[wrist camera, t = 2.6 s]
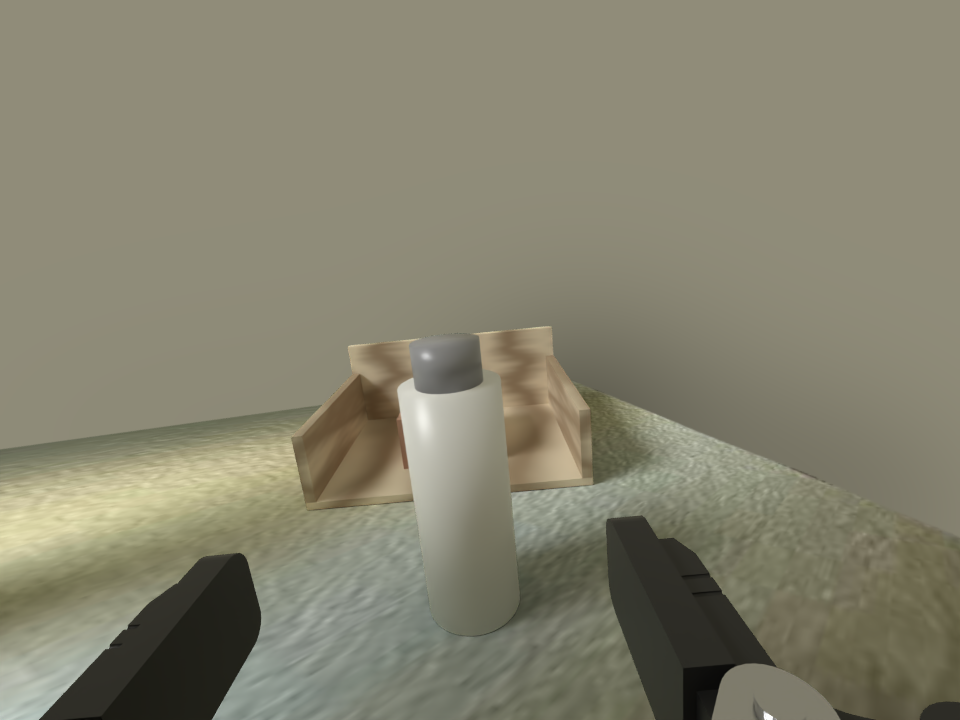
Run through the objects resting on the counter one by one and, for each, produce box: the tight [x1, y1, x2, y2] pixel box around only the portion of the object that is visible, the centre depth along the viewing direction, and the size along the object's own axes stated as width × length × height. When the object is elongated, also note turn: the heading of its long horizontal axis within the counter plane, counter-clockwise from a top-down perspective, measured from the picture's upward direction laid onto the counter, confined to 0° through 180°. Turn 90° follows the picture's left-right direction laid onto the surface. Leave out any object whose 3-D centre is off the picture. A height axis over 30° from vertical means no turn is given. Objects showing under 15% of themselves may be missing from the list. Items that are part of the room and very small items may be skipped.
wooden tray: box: [291, 326, 593, 510], centre depth 40 cm, size 22×17×9 cm
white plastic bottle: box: [397, 333, 520, 636], centre depth 22 cm, size 5×5×14 cm
